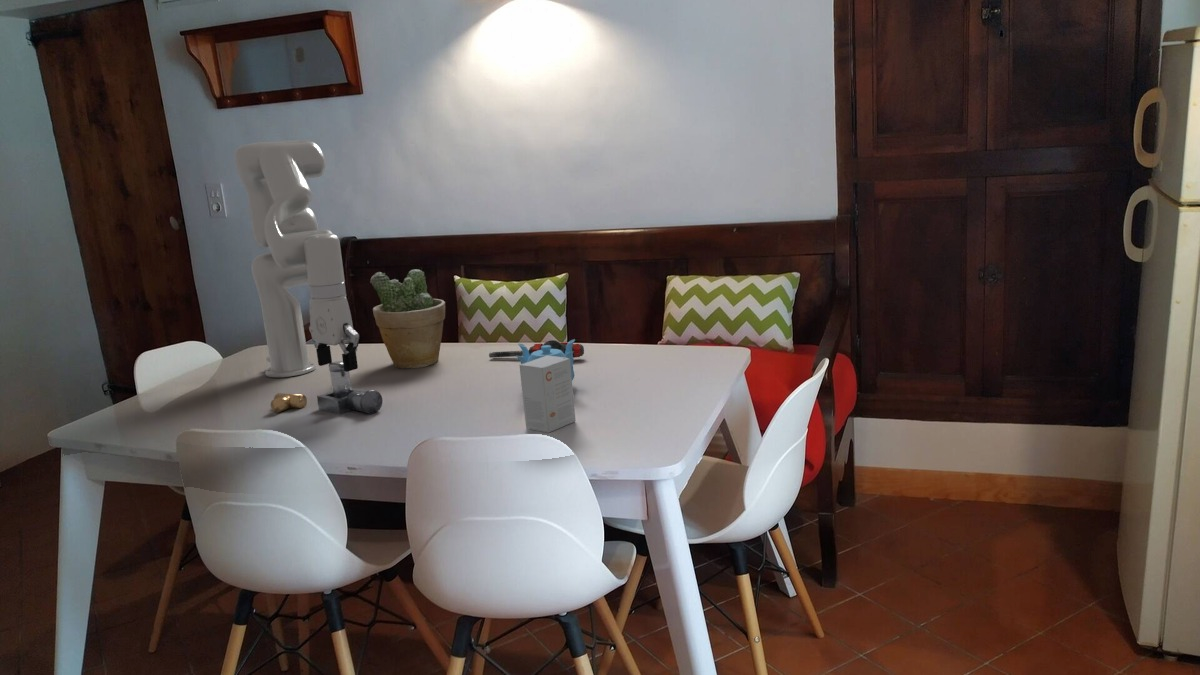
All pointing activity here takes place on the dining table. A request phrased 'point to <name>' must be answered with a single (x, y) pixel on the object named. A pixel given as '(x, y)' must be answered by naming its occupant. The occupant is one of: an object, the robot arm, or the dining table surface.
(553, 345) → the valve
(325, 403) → the grey framed piece
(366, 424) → the dining table surface
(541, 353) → the teapot
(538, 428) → the small box
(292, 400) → the bronze tee
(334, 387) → the silver capped cylinder
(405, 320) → the potted plant
